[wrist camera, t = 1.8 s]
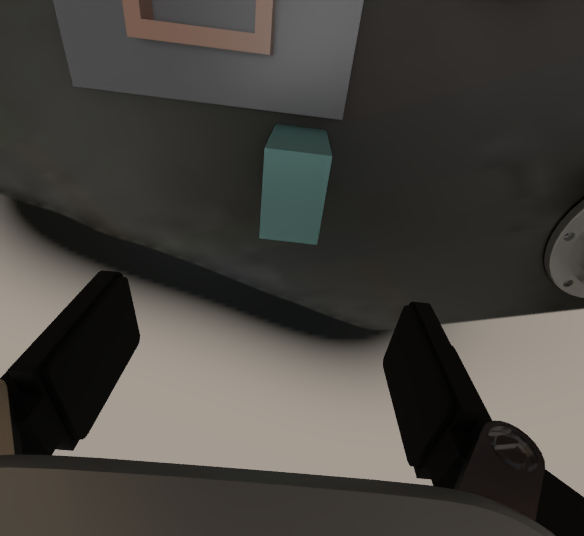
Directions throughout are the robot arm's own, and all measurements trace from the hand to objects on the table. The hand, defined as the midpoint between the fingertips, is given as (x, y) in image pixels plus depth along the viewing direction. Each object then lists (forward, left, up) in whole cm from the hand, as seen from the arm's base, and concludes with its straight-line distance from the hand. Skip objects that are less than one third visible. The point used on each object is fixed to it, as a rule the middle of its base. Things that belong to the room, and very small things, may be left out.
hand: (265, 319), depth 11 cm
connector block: (0, 0, -19) cm, 19 cm away
